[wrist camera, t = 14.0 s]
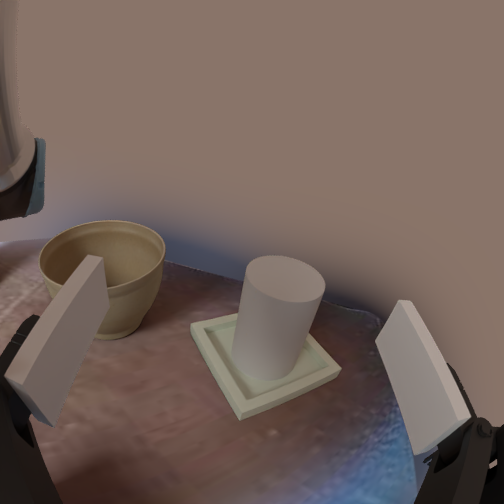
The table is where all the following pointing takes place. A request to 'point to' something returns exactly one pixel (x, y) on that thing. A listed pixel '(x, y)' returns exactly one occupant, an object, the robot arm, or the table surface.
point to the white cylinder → (275, 315)
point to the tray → (253, 390)
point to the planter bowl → (110, 268)
